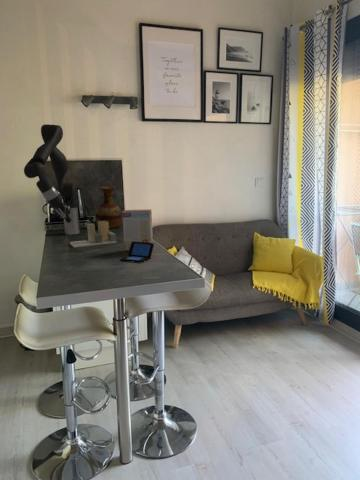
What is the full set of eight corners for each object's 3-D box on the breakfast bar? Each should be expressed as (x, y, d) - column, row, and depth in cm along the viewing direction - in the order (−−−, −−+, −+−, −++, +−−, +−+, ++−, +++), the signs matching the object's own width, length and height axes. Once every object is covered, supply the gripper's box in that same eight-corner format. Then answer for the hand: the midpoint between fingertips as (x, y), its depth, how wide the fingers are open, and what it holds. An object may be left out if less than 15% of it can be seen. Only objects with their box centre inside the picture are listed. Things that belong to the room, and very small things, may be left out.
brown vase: (95, 230, 267) (92, 186, 261) (95, 225, 286) (93, 185, 281) (123, 228, 271) (121, 185, 265) (122, 224, 290) (120, 184, 285)
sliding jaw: (87, 240, 223) (85, 223, 221) (97, 239, 225) (96, 222, 223) (91, 243, 212) (90, 225, 210) (102, 242, 214) (101, 224, 213)
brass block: (98, 240, 222) (97, 221, 220) (107, 239, 224) (106, 220, 222) (101, 241, 218) (99, 222, 216) (109, 240, 220) (108, 221, 218)
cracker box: (153, 249, 198) (151, 208, 194) (151, 251, 192) (149, 210, 188) (127, 249, 199) (124, 209, 196) (124, 251, 194) (122, 210, 190)
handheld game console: (119, 261, 175) (118, 245, 174) (132, 256, 184) (131, 241, 183) (142, 263, 169) (141, 247, 168) (155, 258, 179) (154, 242, 177)
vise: (69, 243, 219) (69, 235, 218) (110, 239, 229) (110, 231, 228) (73, 247, 208) (72, 238, 207) (116, 242, 218) (116, 234, 217)
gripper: (64, 190, 206) (81, 216, 214) (47, 194, 212) (65, 219, 221) (56, 197, 200) (74, 224, 209) (39, 202, 207) (57, 227, 215)
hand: (69, 221), depth 215 cm, fingers closed
